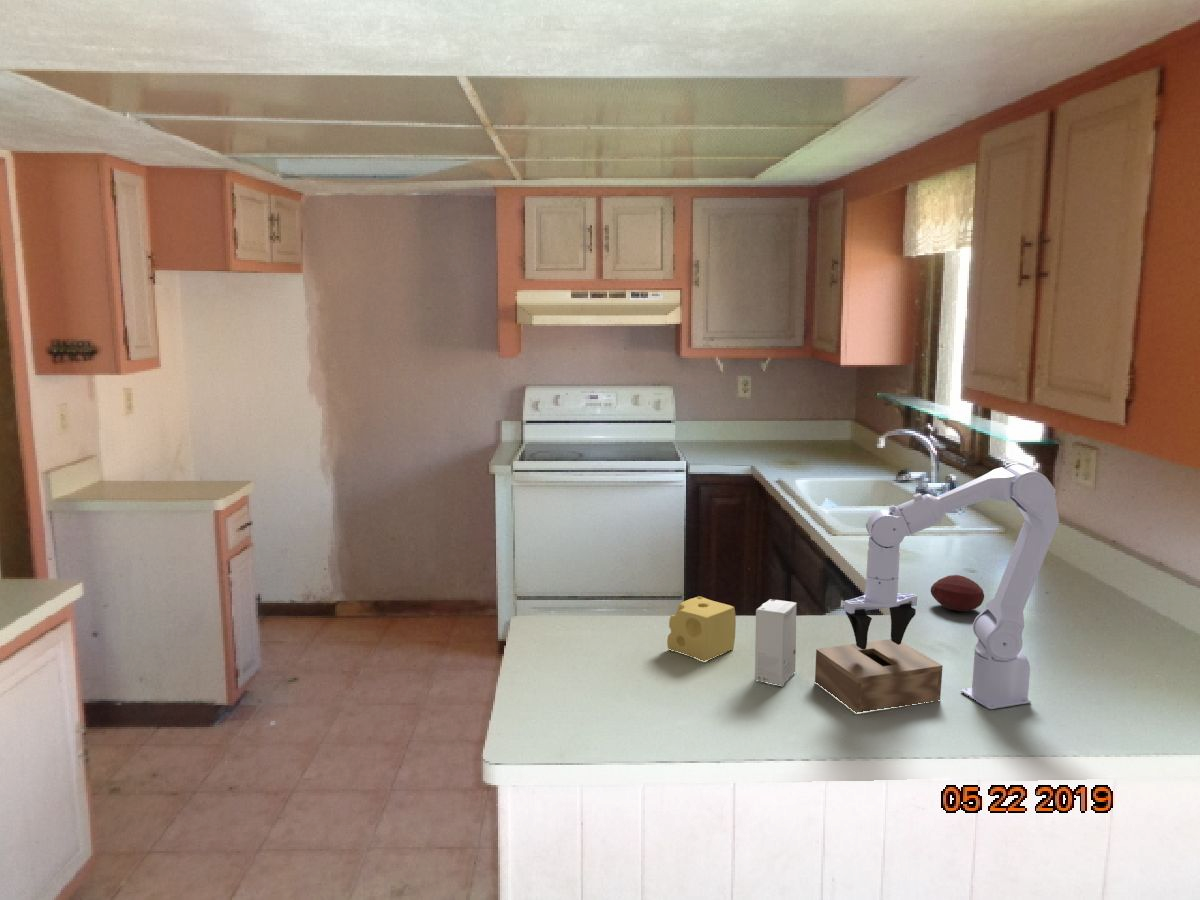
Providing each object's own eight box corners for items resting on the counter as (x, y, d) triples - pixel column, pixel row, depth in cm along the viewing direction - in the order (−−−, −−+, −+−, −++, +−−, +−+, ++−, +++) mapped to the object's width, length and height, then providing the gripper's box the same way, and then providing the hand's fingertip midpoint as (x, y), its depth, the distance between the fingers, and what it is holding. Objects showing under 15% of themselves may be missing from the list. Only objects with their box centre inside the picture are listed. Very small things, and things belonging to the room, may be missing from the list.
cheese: (666, 650, 192) (667, 605, 190) (699, 637, 199) (699, 594, 198) (705, 664, 185) (706, 618, 183) (737, 650, 192) (738, 605, 190)
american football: (989, 619, 210) (992, 584, 209) (941, 618, 211) (943, 584, 209) (970, 602, 222) (973, 569, 220) (924, 602, 222) (926, 569, 221)
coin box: (894, 671, 181) (896, 638, 180) (940, 701, 168) (942, 665, 167) (814, 683, 176) (816, 649, 174) (856, 714, 162) (857, 678, 161)
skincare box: (782, 688, 173) (785, 614, 171) (752, 681, 176) (754, 608, 174) (796, 672, 181) (798, 601, 178) (767, 666, 183) (769, 596, 181)
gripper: (902, 565, 174) (898, 633, 176) (836, 572, 169) (833, 641, 172) (926, 576, 167) (921, 646, 169) (857, 584, 163) (854, 655, 165)
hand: (878, 645), depth 170 cm, fingers open, 7 cm apart
